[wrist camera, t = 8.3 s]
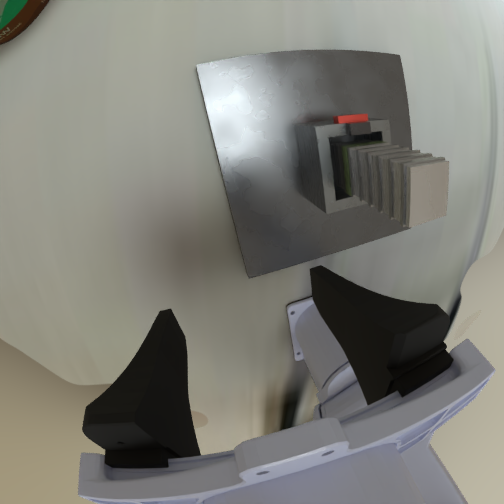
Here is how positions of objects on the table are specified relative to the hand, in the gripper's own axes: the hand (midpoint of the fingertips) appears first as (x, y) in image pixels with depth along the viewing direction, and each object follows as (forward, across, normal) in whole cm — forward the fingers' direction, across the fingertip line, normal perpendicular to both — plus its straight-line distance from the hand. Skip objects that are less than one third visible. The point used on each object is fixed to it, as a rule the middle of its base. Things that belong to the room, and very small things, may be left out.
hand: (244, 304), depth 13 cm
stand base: (+10, -10, -4) cm, 15 cm away
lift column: (+7, -10, -4) cm, 13 cm away
